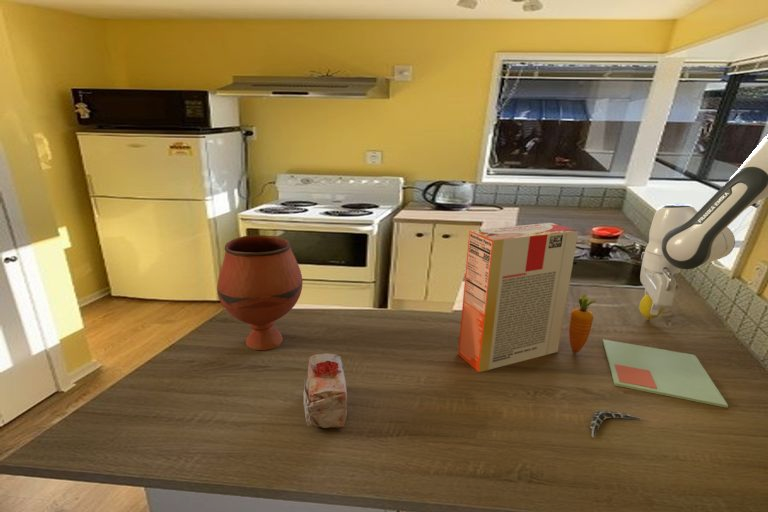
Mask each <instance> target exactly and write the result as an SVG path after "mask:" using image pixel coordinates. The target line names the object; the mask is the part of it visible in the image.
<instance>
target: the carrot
mask: <svg viewBox="0 0 768 512" xmlns="http://www.w3.org/2000/svg"><path fill="white" fill-rule="evenodd" d="M589 300H590V298H589V297H587V294H585V293H584V294H582V297H579V298H578V304H579V307H575V308H573V309H572V310H571V312H570V317H569V318H570V319H569V327H568V329H569V331H568V333H569V334H568V336H569V344H570V348H571V351H572V352H573V353H574V354H578V353H579V352H580V351H581V350H582V349H583V347H584V346H585V345H586V342H587V341H588V339H589V336H590V333H591V330H592V326H593V322H594V313H593V311H591V310H589V308H590V305H592V304H594V303H596V302H597V301H596V299H593V300H590V301H589Z"/></svg>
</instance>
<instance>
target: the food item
mask: <svg viewBox="0 0 768 512" xmlns="http://www.w3.org/2000/svg"><path fill="white" fill-rule="evenodd" d="M307 366H308V367H307V378H304V379H303V380H304V381H303V383H304V384H303V392H302V395H303V409H304V416H305V421H306V422H305V423H306V425H307V426H308V428H309V429H310V428H322V429H328V428H338V429H339V428H344V427H345V425H346V420H347V413H348V389H347V381H346V377H345V372H344V364H343V360H342V356H341V355H338V354H336V353H335V354H334V353H326V352H324V353H318V354H317V353H316V354H312V355H310V356H309V358H308V365H307Z"/></svg>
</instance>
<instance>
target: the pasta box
mask: <svg viewBox="0 0 768 512" xmlns="http://www.w3.org/2000/svg"><path fill="white" fill-rule="evenodd" d="M578 236H579V230H577V229H574V228H570V227H566V226H564V225H560V224H557V223H553V222H543V223H531V224H521V225H511V226H502V227H492V228H491V227H490V228H480V229H470V230H469V231H468V240H467V241H468V243H467V252H466V263H465V275H464V285H463V287H464V288H463V295H462V297H463V298H462V307H461V320H460V329H459V340H458V353H457V354H458V356H460V358H462V360H464V361H465V362H466V363H468V365H470V366H471V367H472V368H473V369H474V370H475V371H476V372H478V373H482V372H486V371H489V370H493V369H497V368H500V367H506V366H508V365H509V366H510V365H512V364H516V363H521V362H524V361H528V360H532V359H536V358H540V357H544V356H548V355H551V354H555V353H558V351H559V347H560V340H561V334H562V329H563V323H564V318H565V317H564V316H565V312H566V311H565V310H566V305H567V299H568V294H569V288H570V282H571V277H572V271H573V265H574V260H575V254H576V247H577V243H578Z"/></svg>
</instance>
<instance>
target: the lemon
mask: <svg viewBox="0 0 768 512" xmlns="http://www.w3.org/2000/svg"><path fill="white" fill-rule="evenodd" d="M652 304H653V303H652V299H651V297H650V296H649V294H648V295H645V294H644V296H643V297H642V298H641V300H640V302H639V306H638V307H639V308H638V309H639V313H640V314H641V315H642V316H643V317H644V318H645V319H646V320H652V319H656V318H658V317H659V316H660V315H661V314H662V313H663V310H664V307H661V308H660V310H659V313H658V315H651V314H650V312H649V311H650V307H652Z"/></svg>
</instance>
